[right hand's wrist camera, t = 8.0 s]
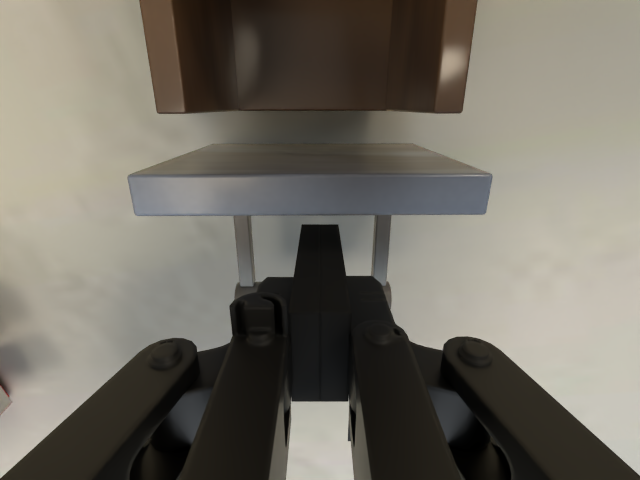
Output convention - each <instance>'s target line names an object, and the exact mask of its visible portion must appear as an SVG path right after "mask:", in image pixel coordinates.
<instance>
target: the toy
mask: <svg viewBox="0 0 640 480" xmlns="http://www.w3.org/2000/svg"><path fill="white" fill-rule="evenodd" d="M11 403H12V401H11V399H10V398H9V395H8V394H7V392H6V391H5V390H4V389H3V387H2V386H1V385H0V415H1V414H2V413H3V412H4V411H5V410H6V409H7V407H8V406H9V405H10V404H11Z"/></svg>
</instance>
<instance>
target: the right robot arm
mask: <svg viewBox="0 0 640 480" xmlns="http://www.w3.org/2000/svg"><path fill="white" fill-rule="evenodd" d="M230 316H231V325H232V334H233V336H232V339H231V342H230V343H228V344H226V345H224V346H221V347H218V348H214V349H209V350H205V351H200V352H197V347H196V345H195V344H194V343H193V342H192V341H190V340H187V339H184V338H171V339H165V340H161V341H158V342H156V343H154V344H151V345H149V346H148V347H146V348H145V349H143V350H142V351H140V352H139V353H138V354H137V355H136V356H135V357H134V358H133V359H131V360H130V361H129V362H128V363H127V364H126V365H125V366H124V367H123V368H122V369H120V370H119V371H118V372H117V373H116V374H115V375H114V376H113V377H112V378H111V379H109V380H108V381H107V382H106V383H105V384H104V385H103V386H102V387H101V388H100V389H98V390H97V391H96V392H95V393H94V394H93V395H92V396H91V397H90V398H89V399H87V400H86V401H85V402H84V403H83V404H82V405H81V406H80V407H79V408H78V409H76V410H75V411H74V412H73V413H72V414H71V415H70V416H69V417H68V418H67V419H65V420H64V421H63V422H62V423H61V424H60V425H59V426H58V427H57V428H56V429H54V430H53V431H52V432H51V433H50V434H49V435H48V436H47V437H46V438H45V439H43V440H42V441H41V442H40V443H39V444H38V445H37V446H36V447H35V448H34V449H32V450H31V451H30V452H29V453H28V454H27V455H26V456H25V457H24V458H23V459H21V460H20V461H19V462H18V463H17V464H16V465H15V466H14V467H13V468H12V469H10V470H9V471H8V472H7V473H6V474H5V475H4V476H3V477H2V478H0V480H286V471H287V460H288V449H289V438H290V426H291V397H292V401H348V397H349V427H348V441H351V448H352V460H353V471H354V480H640V476H639V475H638V474H637V473H636V472H635V471H634V470H633V469H632V468H631V467H629V466H628V465H627V464H626V463H625V462H624V461H623V460H622V459H621V458H619V457H618V456H617V455H616V454H615V453H614V452H613V451H612V450H611V449H609V448H608V447H607V446H606V445H605V444H604V443H603V442H602V441H601V440H599V439H598V438H597V437H596V436H595V435H594V434H593V433H592V432H591V431H590V430H588V429H587V428H586V427H585V426H584V425H583V424H582V423H581V422H580V421H578V420H577V419H576V418H575V417H574V416H573V415H572V414H571V413H570V412H568V411H567V410H566V409H565V408H564V407H563V406H562V405H561V404H560V403H558V402H557V401H556V400H555V399H554V398H553V397H552V396H551V395H550V394H548V393H547V392H546V391H545V390H544V389H543V388H542V387H541V386H540V385H538V384H537V383H536V382H535V381H534V380H533V379H532V378H531V377H530V376H528V375H527V374H526V373H525V372H524V371H523V370H522V369H521V368H520V367H519V366H517V365H516V364H515V363H514V362H513V361H512V360H511V359H510V358H509V357H507V356H506V355H505V354H504V353H503V352H502V351H501V350H499V349H498V348H496V347H495V346H494V345H492V344H491V343H488V342H486V341H483V340H481V339H477V338H473V337H455V338H452V339H449V340H448V341H447V342H446V343H445V344H444V347H443V351H442V350H438V349H433V348H428V347H424V346H421V345H417V344H415V343H413V342H411V341H409V339H408V336H407V334H406V333H405V331H404V330H403V329H402V328H400V327H399V326H397V325H396V324H395V322H394V319H393V316H392V313H391V310H390V308H389V305H388V302H387V299H386V296H385V294H384V290H383V287H382V284H381V283H380V282H379V281H378V280H377V279H375V278H374V277H373V276H346V272H345V266H344V259H343V253H342V246H341V240H340V233H339V227H338V225H302V227H301V233H300V240H299V246H298V253H297V259H296V266H295V272H294V277H267V278H266V279H265V280H264V281H262V282H261V283H260V284H259V286H258V289H257V292H255V293H249V294H246V295H243V296H241V297H239V298H237V299H236V300H234V301H233V302H232V304H231V305H230Z"/></svg>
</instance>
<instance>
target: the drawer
mask: <svg viewBox="0 0 640 480" xmlns="http://www.w3.org/2000/svg"><path fill="white" fill-rule="evenodd" d="M139 1H140V7H141V13H142V20H143V26H144V33H145V39H146V45H147V52H148V58H149V65H150V71H151V77H152V84H153V90H154V96H155V103H156V109H157V113H159V114H188V113H206V112H224V111H402V112H419V113H435V114H446V113H461V112H462V111H463V103H464V96H465V89H466V81H467V74H468V67H469V59H470V52H471V45H472V37H473V30H474V23H475V15H476V8H477V1H478V0H139ZM491 182H492V174H490V173H487V172H485V171H482V170H480V169H477V168H474V167H472V166H469V165H467V164H464V163H461V162H459V161H456V160H454V159H451V158H448V157H446V156H443V155H441V154H438V153H435V152H433V151H430V150H428V149H425V148H422V147H420V146H417V145H415V144H211V145H209V146H206V147H203V148H200V149H198V150H195V151H192V152H190V153H187V154H184V155H181V156H179V157H176V158H173V159H170V160H168V161H165V162H162V163H160V164H157V165H154V166H151V167H149V168H146V169H143V170H141V171H138V172H135V173H132V174H130V175H128V183H129V188H130V193H131V198H132V203H133V208H134V213H135V215H137V216H234V226H235V237H236V248H237V259H238V269H239V280H240V282H238V283H237V286H236V290H235V300H236V299H237V298H239V297H241V296H243V295H246V294H249V293H255V292H257V289H258V286H259V284H260V283H261V282H255V268H254V254H253V241H252V227H251V216H258V215H375V218H374V235H373V253H372V270H371V276H373V277H374V278H375V279H377V280H378V281H379V282H380V283H381V284H382V287H383V290H384V294H385V296H386V299H387V302H388V305H389V308H390V309H391V300H392V298H391V288H390V284H389V282H388V281H386V280H387V267H388V254H389V241H390V227H391V215H483V214H485V213H486V210H487V204H488V199H489V193H490V187H491Z"/></svg>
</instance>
